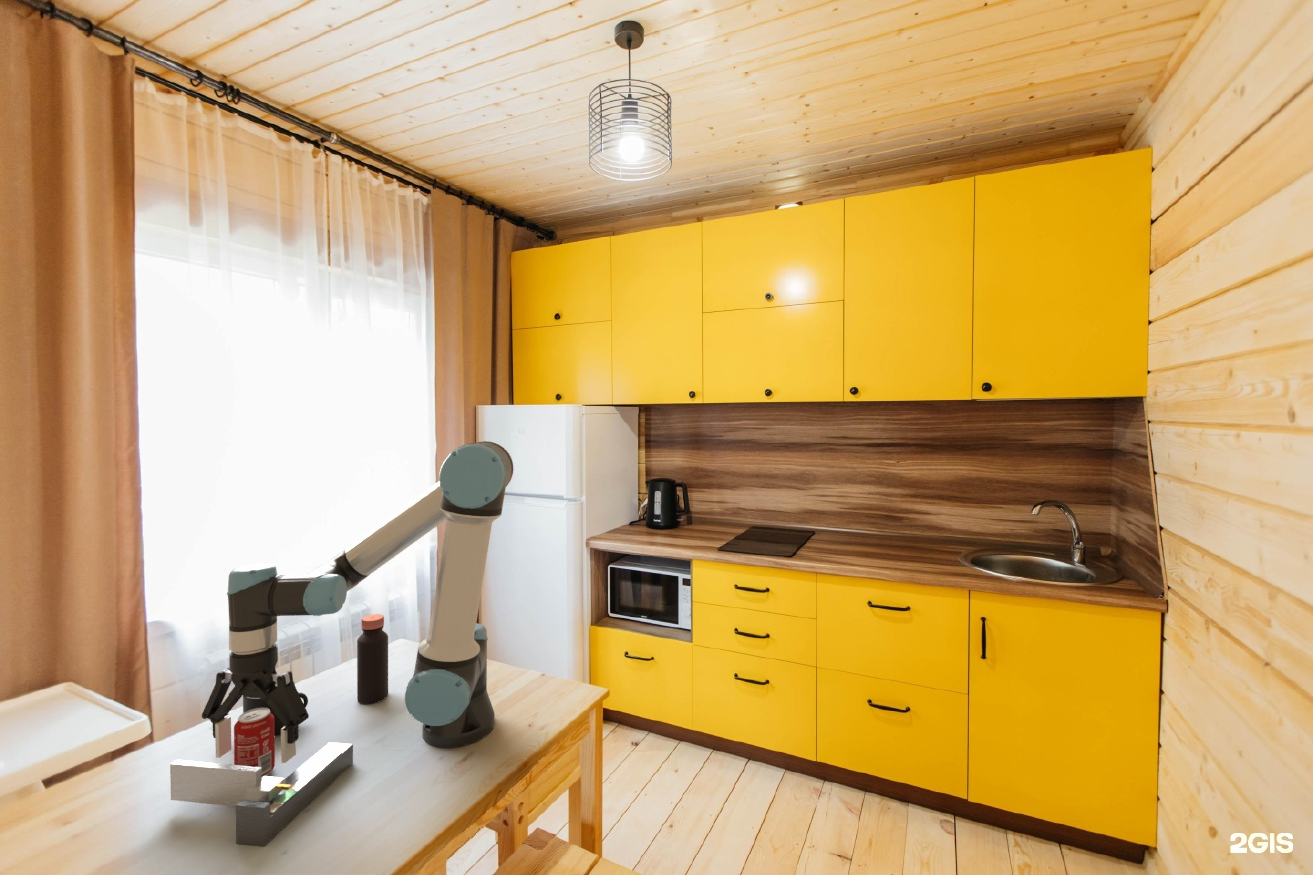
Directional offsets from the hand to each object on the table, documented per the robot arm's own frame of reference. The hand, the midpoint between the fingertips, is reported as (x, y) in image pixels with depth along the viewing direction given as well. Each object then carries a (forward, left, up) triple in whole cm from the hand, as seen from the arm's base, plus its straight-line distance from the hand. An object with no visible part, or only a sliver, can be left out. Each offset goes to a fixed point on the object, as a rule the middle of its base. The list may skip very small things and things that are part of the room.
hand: (256, 756), depth 108 cm
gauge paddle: (-5, +11, -1) cm, 12 cm away
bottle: (-4, -31, -4) cm, 31 cm away
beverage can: (0, 0, -4) cm, 4 cm away
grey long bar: (-13, +5, -4) cm, 15 cm away
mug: (+9, -16, -4) cm, 19 cm away
